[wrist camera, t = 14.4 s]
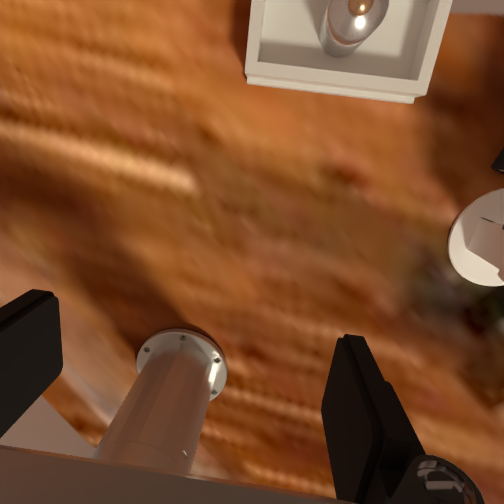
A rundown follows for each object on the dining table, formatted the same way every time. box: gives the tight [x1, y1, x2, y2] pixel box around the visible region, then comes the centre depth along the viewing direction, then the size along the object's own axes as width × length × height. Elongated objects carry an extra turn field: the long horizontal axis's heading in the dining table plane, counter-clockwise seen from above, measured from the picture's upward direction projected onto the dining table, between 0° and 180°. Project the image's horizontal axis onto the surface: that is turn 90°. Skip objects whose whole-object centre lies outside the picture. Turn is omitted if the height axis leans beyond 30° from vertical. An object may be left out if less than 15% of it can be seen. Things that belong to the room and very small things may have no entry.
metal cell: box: [319, 0, 389, 58], centre depth 26 cm, size 4×4×8 cm
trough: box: [245, 0, 453, 104], centre depth 29 cm, size 10×16×4 cm, turn 83°
